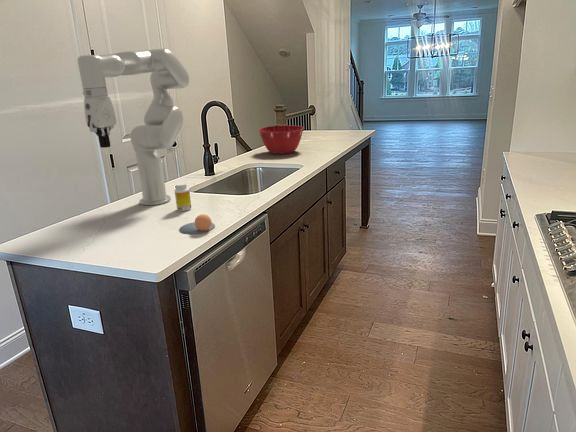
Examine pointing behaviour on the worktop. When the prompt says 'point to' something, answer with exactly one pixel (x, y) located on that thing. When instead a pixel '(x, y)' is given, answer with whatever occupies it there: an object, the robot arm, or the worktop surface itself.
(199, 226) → the ball
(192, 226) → the disc
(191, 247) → the worktop surface
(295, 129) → the mixing bowl
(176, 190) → the supplement bottle
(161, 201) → the robot arm
